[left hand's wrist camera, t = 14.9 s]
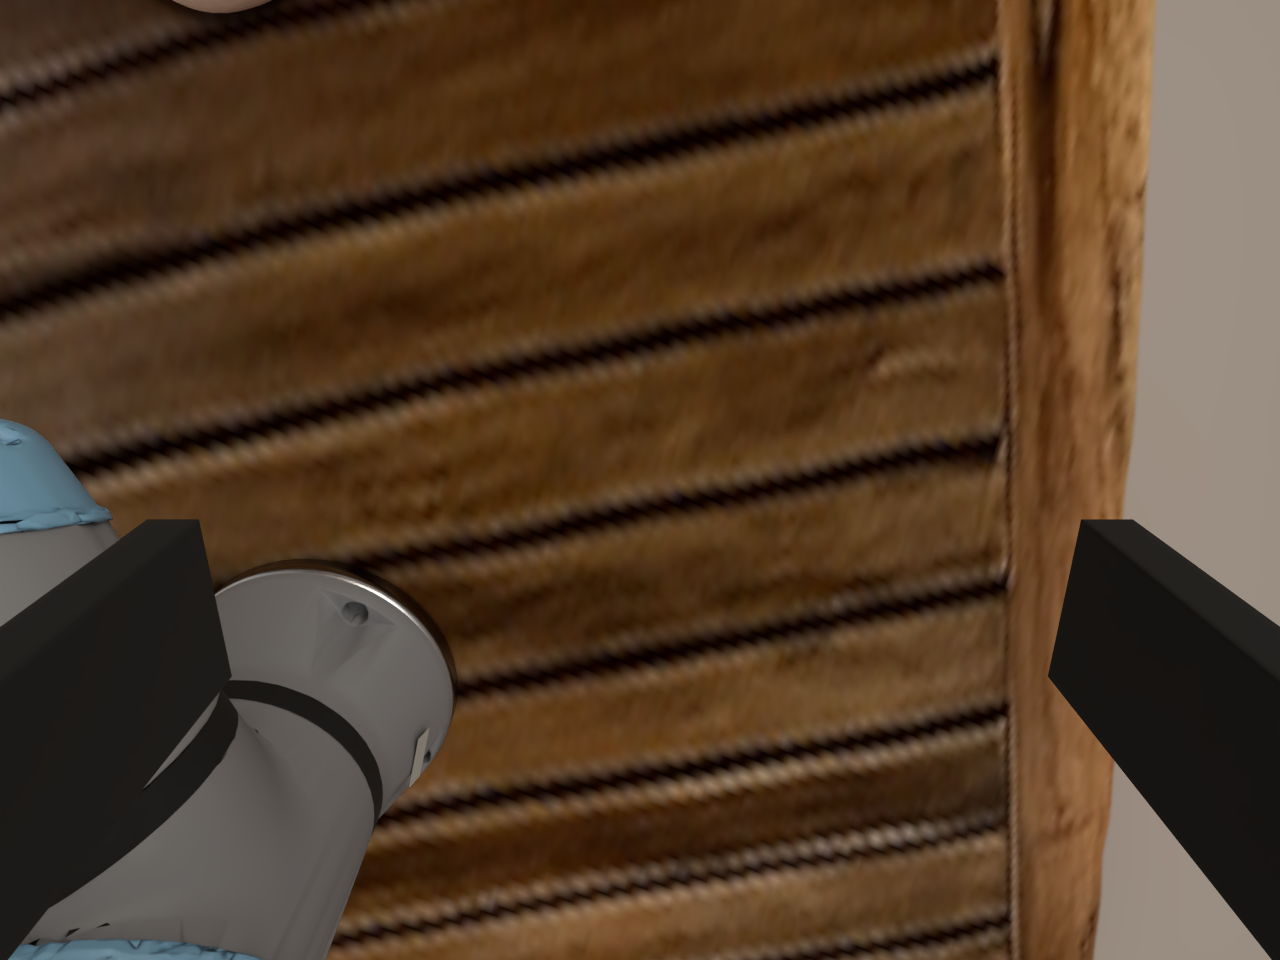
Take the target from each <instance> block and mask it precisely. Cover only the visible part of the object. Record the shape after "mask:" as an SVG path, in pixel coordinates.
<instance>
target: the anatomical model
mask: <svg viewBox="0 0 1280 960" xmlns="http://www.w3.org/2000/svg"><path fill="white" fill-rule="evenodd" d="M173 1H175V2H177V3H179V4H181V5H184V6H186V7H189V8H192V9H195V10H199V11H203V12H209V13H231V12H238V11H243V10H246V9H250V8H253V7H257V6H260V5H262V4H265V3H267V2H269V1H271V0H173Z"/></svg>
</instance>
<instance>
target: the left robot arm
mask: <svg viewBox="0 0 1280 960" xmlns="http://www.w3.org/2000/svg"><path fill="white" fill-rule="evenodd" d="M112 519H113V518H112V516H111V514H110V512H109V510H108V509H107V508H105V507H101V506H98V505H97V504H96V502H95V501H94V500H93V499H92V497H91V496H90V495H89V493H88V492H87V491H86V490H85V488H84V487H83V486H82V484H81V483H80V482H79V480H78V479H77V478H76V477H75V475H74V474H73V473H72V471H71V470H70V469H69V468H68V466H67V465H66V464H65V462H64V461H63V460H62V459H61V457H60V456H59V455H58V453H57V452H56V451H55V449H54V448H53V447H52V446H51V444H50V443H49V442H48V441H47V440H46V439H45V438H44V437H42V436H41V435H40V434H39V433H37V432H36V431H34V430H32V429H31V428H29V427H27V426H25V425H22V424H20V423H16V422H13V421H9V420H4V419H0V960H325V959H326V956H327V954H328V951H329V948H330V946H331V943H332V940H333V938H334V935H335V932H336V930H337V927H338V924H339V922H340V919H341V916H342V914H343V911H344V908H345V906H346V903H347V900H348V898H349V895H350V892H351V890H352V887H353V884H354V881H355V879H356V876H357V873H358V871H359V868H360V865H361V863H362V860H363V857H364V855H365V852H366V849H367V847H368V844H369V841H370V839H371V836H372V833H373V831H374V828H375V826H376V823H377V821H378V819H379V818H380V817H381V815H382V814H383V813H384V812H385V811H386V810H387V809H388V808H389V807H390V806H391V805H392V804H393V803H394V802H395V801H396V800H397V799H398V798H399V797H400V796H401V794H402V793H403V792H404V791H405V790H406V788H407V787H408V786H409V787H410V786H411V785H412V784H413V783H414V782H415V781H416V780H417V779H418V777H419V776H420V775H421V774H422V772H423V771H424V770H425V769H426V768H427V767H428V765H429V764H430V763H431V761H432V760H433V759H434V757H435V756H436V754H437V753H438V751H439V750H440V748H441V746H442V744H443V742H444V740H445V737H446V735H447V732H448V729H449V726H450V723H451V720H452V717H453V715H454V711H455V707H456V701H457V673H456V668H455V664H454V660H453V657H452V654H451V651H450V648H449V646H448V644H447V642H446V640H445V638H444V636H443V634H442V633H441V631H440V629H439V628H438V626H437V625H436V624H435V622H434V621H433V620H432V618H431V617H430V616H429V615H428V614H427V613H426V611H425V610H424V609H423V608H422V607H421V606H420V605H419V604H418V603H417V602H415V601H414V600H413V599H412V598H411V597H410V596H408V595H407V594H406V593H405V592H403V591H402V590H401V589H399V588H397V587H396V586H394V585H393V584H391V583H390V582H388V581H386V580H384V579H382V578H380V577H379V576H376V575H374V574H372V573H370V572H367V571H365V570H362V569H359V568H356V567H353V566H350V565H346V564H342V563H338V562H332V561H326V560H315V559H292V560H283V561H277V562H272V563H268V564H264V565H261V566H258V567H255V568H253V569H250V570H248V571H245V572H243V573H241V574H240V575H238V576H236V577H234V578H233V579H231V580H230V581H228V582H227V583H225V584H224V585H223V586H222V587H221V588H219V589H218V590H217V591H216V592H215V593H214V589H213V584H212V580H211V575H210V570H209V565H208V561H207V556H206V551H205V547H204V542H203V537H202V532H201V528H200V523H199V520H146V521H145V522H143V523H142V524H140V525H139V526H138V527H136V528H135V529H134V530H132V531H131V532H130V533H128V534H127V535H125V536H124V537H123V538H121V539H120V537H119V536H118V535H117V533H116V531H115V530H114V528H113V527H112V525H111V524H110V522H109V521H108V520H112ZM1048 677H1049V678H1050V680H1051V681H1052V682H1053V683H1054V685H1055V686H1056V687H1057V688H1058V690H1059V691H1060V692H1061V693H1062V695H1063V696H1064V697H1065V699H1066V700H1067V701H1068V702H1069V704H1070V705H1071V706H1072V707H1073V709H1074V710H1075V711H1076V712H1077V714H1078V715H1079V716H1080V717H1081V719H1082V720H1083V721H1084V723H1085V724H1086V725H1087V726H1088V728H1089V729H1090V730H1091V731H1092V733H1093V734H1094V735H1095V736H1096V738H1097V739H1098V740H1099V742H1100V743H1101V744H1102V745H1103V747H1104V748H1105V749H1106V750H1107V752H1108V753H1109V754H1110V755H1111V757H1112V758H1113V759H1114V761H1115V762H1116V763H1117V764H1118V766H1119V767H1120V768H1121V769H1122V771H1123V772H1124V773H1125V774H1126V776H1127V777H1128V778H1129V779H1130V781H1131V782H1132V783H1133V784H1134V786H1135V787H1136V788H1137V790H1138V791H1139V792H1140V793H1141V795H1142V796H1143V797H1144V798H1145V800H1146V801H1147V802H1148V804H1149V805H1150V806H1151V807H1152V809H1153V810H1154V811H1155V812H1156V814H1157V815H1158V816H1159V817H1160V819H1161V820H1162V821H1163V822H1164V824H1165V825H1166V826H1167V828H1168V829H1169V830H1170V831H1171V833H1172V834H1173V835H1174V836H1175V838H1176V839H1177V840H1178V841H1179V843H1180V844H1181V845H1182V846H1183V848H1184V849H1185V850H1186V852H1187V853H1188V854H1189V855H1190V857H1191V858H1192V859H1193V860H1194V862H1195V863H1196V864H1197V865H1198V867H1199V868H1200V869H1201V870H1202V872H1203V873H1204V874H1205V876H1206V877H1207V878H1208V879H1209V881H1210V882H1211V883H1212V884H1213V886H1214V887H1215V888H1216V890H1217V891H1218V892H1219V893H1220V895H1221V896H1222V897H1223V898H1224V900H1225V901H1226V902H1227V904H1228V905H1229V906H1230V907H1231V908H1232V910H1233V911H1234V912H1235V914H1236V915H1237V916H1238V917H1239V919H1240V920H1241V921H1242V922H1243V924H1244V925H1245V926H1246V928H1247V929H1248V930H1249V931H1250V932H1251V934H1252V935H1253V936H1254V938H1255V939H1256V940H1257V941H1258V943H1259V944H1260V945H1261V947H1262V948H1263V949H1264V950H1265V952H1266V953H1267V954H1268V955H1269V957H1270V958H1271V959H1272V960H1280V627H1279V626H1278V625H1277V624H1275V623H1274V622H1272V621H1271V620H1270V619H1268V618H1267V617H1266V616H1264V615H1263V614H1262V613H1260V612H1259V611H1257V610H1256V609H1255V608H1253V607H1252V606H1251V605H1249V604H1248V603H1246V602H1245V601H1244V600H1242V599H1241V598H1239V597H1238V596H1237V595H1235V594H1234V593H1233V592H1231V591H1230V590H1229V589H1227V588H1226V587H1225V586H1223V585H1222V584H1220V583H1219V582H1218V581H1216V580H1215V579H1214V578H1212V577H1211V576H1209V575H1208V574H1207V573H1205V572H1204V571H1203V570H1201V569H1200V568H1198V567H1197V566H1196V565H1194V564H1193V563H1192V562H1190V561H1189V560H1187V559H1186V558H1185V557H1183V556H1182V555H1181V554H1179V553H1178V552H1177V551H1175V550H1174V549H1172V548H1171V547H1170V546H1168V545H1167V544H1165V543H1164V542H1163V541H1161V540H1160V539H1159V538H1157V537H1156V536H1155V535H1153V534H1152V533H1150V532H1149V531H1148V530H1146V529H1145V528H1144V527H1142V526H1141V525H1139V524H1138V523H1137V522H1135V521H1134V520H1081V523H1080V528H1079V532H1078V537H1077V542H1076V547H1075V551H1074V556H1073V561H1072V565H1071V570H1070V575H1069V580H1068V584H1067V589H1066V594H1065V598H1064V603H1063V608H1062V613H1061V617H1060V622H1059V627H1058V631H1057V636H1056V641H1055V646H1054V650H1053V655H1052V660H1051V664H1050V669H1049V674H1048Z"/></svg>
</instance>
